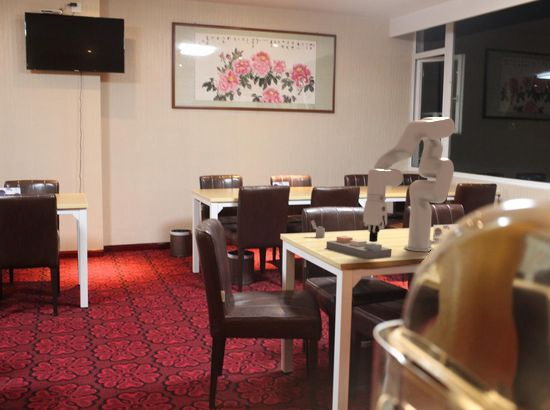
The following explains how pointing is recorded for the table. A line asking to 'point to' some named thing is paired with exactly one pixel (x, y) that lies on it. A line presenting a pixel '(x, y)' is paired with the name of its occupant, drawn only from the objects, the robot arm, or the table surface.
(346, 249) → the button panel
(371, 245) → the slate button
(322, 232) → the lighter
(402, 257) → the table surface
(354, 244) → the cream button
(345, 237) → the terracotta button
